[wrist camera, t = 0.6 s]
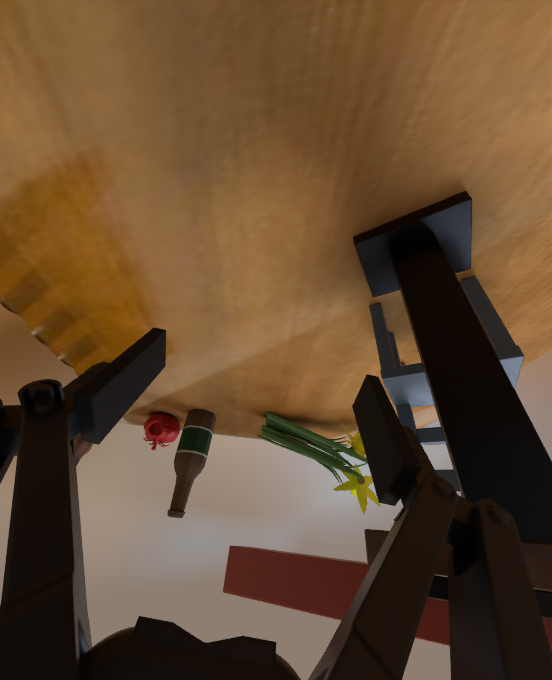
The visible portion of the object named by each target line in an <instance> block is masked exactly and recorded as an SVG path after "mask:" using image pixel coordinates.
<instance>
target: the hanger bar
mask: <svg viewBox="0 0 552 680" xmlns="http://www.w3.org/2000/svg"><path fill="white" fill-rule="evenodd" d="M369 569H370V566H368V563H365V562H357V561H350V560H343V559H335V558H328V557H320V556H313V555H305V554H298V553H290V552H283V551H276V550H268V549H261V548H253V547H243V546H230V549H229V555H228V562H227V568H226V575H225V581H224V588H223V592H224V593H228V594H232V595H237V596H240V597H245V598H249V599H254V600H257V601H262V602H266V603H270V604H274V605H278V606H282V607H287V608H291V609H295V610H299V611H303V612H307V613H311V614H316V615H320V616H324V617H328V618H332V619H337V620H341V621H342V619H343V617H344V616H345V614H346V612H347V610H348V608H349V606H350V604H351V603H352V601H353V599H354V597H355V595H356V593H357V591H358V589H359V588H360V586H361V584H362V582H363V580H364V578H365V576H366V575H367V573H368V571H369ZM542 620H543V623H544V627H545V630H546V634H547V637H548V641H549V645H550V648H551V652H552V619H547V618H542ZM415 638H416V639H420V640H424V641H428V642H432V643H437V644H441V645H445V646H449V647H450V629H449V601H444V600H438V599H432V598H427V601H426V604H425V607H424V610H423V614H422V617H421V620H420V623H419V626H418V629H417V633H416V636H415Z"/></svg>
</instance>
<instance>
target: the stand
mask: <svg viewBox="0 0 552 680" xmlns="http://www.w3.org/2000/svg"><path fill="white" fill-rule="evenodd" d="M471 230H472V198H471V197H470V196H469V194H468V193H467V192H466V191H464V192H462V193H460V194H457V195H455V196H452V197H450V198H447V199H445V200H443V201H440V202H438V203H435V204H433V205H430V206H428V207H425V208H423V209H421V210H418V211H416V212H413V213H411V214H408V215H406V216H404V217H401V218H399V219H396V220H394V221H391V222H389V223H386V224H384V225H382V226H379V227H377V228H374V229H372V230H369V231H367V232H365V233H362V234H360V235H357V236H355V237H353V239H354V245H355V248H356V251H357V254H358V256H359V259H360V262H361V265H362V268H363V270H364V273H365V276H366V279H367V282H368V284H369V287H370V290H371V293H372V296H373V298H374V297H377V296H381V295H384V294H387V293H391V292H394V291H398V290H400V291H401V294H402V297H403V301H404V304H405V307H406V311H407V314H408V318H409V321H410V324H411V328H412V331H413V334H414V338H415V341H416V344H417V348H418V351H419V354H420V358H421V361H422V365H423V368H424V371H425V375H426V378H427V381H428V385H429V388H430V391H431V395H432V398H433V401H434V405H435V408H436V412H437V415H438V418H439V422H440V425H441V428H442V432H443V435H444V438H445V442H446V445H447V448H448V452H449V455H450V458H451V462H452V465H453V469H454V472H455V475H456V479H457V482H458V485H459V489H460V492H461V495H462V497H463V498H465V499H467V500H469V501H471V502H473V503H475V504H476V503H477V502H478V501H479V500H480V499H482V498H484V499H489V500H492V501H494V502H495V503H497V504H498V505H500V506H501V507H503V508H504V509H505V510H506V511H507V512H508V513H509V514H510V516H511V517H512V518H513V520H514V522H515V524H516V526H517V530H518V534H519V537H520V541H521V544H522V548H523V551H524V555H525V559H526V562H527V566H528V569H529V573H530V577H531V580H532V584H533V587H534V591H535V594H536V598H537V602H538V605H539V609H540V612H541V616H542V618H547V619H552V461H551V459H550V457H549V455H548V453H547V451H546V449H545V447H544V446H543V444H542V442H541V440H540V438H539V436H538V434H537V432H536V430H535V428H534V426H533V424H532V422H531V420H530V418H529V416H528V415H527V413H526V411H525V409H524V407H523V405H522V403H521V401H520V399H519V397H518V395H517V393H516V391H515V389H514V387H513V385H512V383H511V381H510V380H509V378H508V376H507V374H506V372H505V370H504V368H503V366H502V364H501V362H500V360H499V358H498V356H497V354H496V352H495V350H494V349H493V347H492V345H491V343H490V341H489V339H488V337H487V335H486V333H485V331H484V329H483V327H482V325H481V323H480V321H479V319H478V317H477V316H476V314H475V312H474V310H473V308H472V306H471V304H470V302H469V300H468V298H467V296H466V294H465V292H464V290H463V288H462V286H461V284H460V283H459V281H458V279H457V277H456V275H455V273H458V272H461V271H465V270H468V269H471ZM389 532H390V531H384V530H371V529H365V541H366V551H367V562H368V566H370V567H371V565H372V563H373V562H374V560H375V558H376V556H377V554H378V552H379V550H380V548H381V547H382V545H383V543H384V541H385V539H386V537H387V535H388V534H389ZM428 598H432V599H438V600H444V601H449V597H448V565H447V543H445V544H444V547H443V550H442V553H441V557H440V560H439V563H438V566H437V569H436V572H435V576H434V579H433V582H432V585H431V588H430V591H429V595H428Z"/></svg>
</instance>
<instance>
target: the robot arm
mask: <svg viewBox="0 0 552 680" xmlns="http://www.w3.org/2000/svg"><path fill="white" fill-rule="evenodd" d="M165 361H166V330H163V329H159V328H153V329H152V330H150V331H149V332H148V333H147V334H145V335H144V336H143V337H142V338H140V339H139V340H138V341H137V342H136V343H134V344H133V345H132V346H131V347H129V348H128V349H127V350H126V351H125V352H123V353H122V354H121V355H120V356H118V357H117V358H116V359H115V360H114V361H112V362H111V363H108V362H101V363H98V364H96V365H93V366H92V367H90V368H89V369H88V370H86V371H85V373H82V374H81V375H80V376H78V378H76V379H75V380H73V381H72V382H71V383H69V384H68V385H67V386H65V387H64V388H62V385H61V383H60V382H59V381H57V380H51V379H45V380H38V381H34V382H31V383H29V384H27V385H25V386H23V387H22V388H21V389H20V390H19V392H18V397H19V400H20V403H21V405H10V406H4V405H3V403H2V401H1V399H0V483H1V481H2V479H3V477H4V475H5V473H6V471H7V469H8V467H9V465H10V463H11V461H12V459H13V457H14V456H17V455H18V456H17V465H16V475H15V483H14V493H13V501H12V510H11V519H10V528H9V537H8V546H7V555H6V564H5V573H4V582H3V591H2V600H1V605H0V680H301V679H300V678H299V677H298V675H297V673H296V672H295V671H294V669H293V668H292V667H291V666H290V665H289V664H288V663H287V662H286V661H285V660H284V659H283V658H282V657H281V656H279V655H278V654H276V642H273V641H267V640H262V639H256V638H251V637H246V636H240V637H235V638H230V639H225V640H220V641H215V642H210V643H205V642H202V641H201V640H199V639H197V638H196V637H195V636H193V635H191V634H190V633H188V632H187V631H185V630H184V629H182V628H181V627H179V626H177V625H176V624H175V623H173V622H168V621H162V620H157V619H152V618H147V617H141V616H139V618H138V620H137V623H136V625H135V627H130V628H126V629H124V630H121V631H118V632H116V633H114V634H112V635H110V636H108V637H107V638H105V639H103V640H102V641H100V642H99V643H97V644H96V645H95V646H93V647H92V643H91V633H90V625H89V619H88V612H87V602H86V589H85V576H84V564H83V550H82V538H81V525H80V513H79V499H78V486H77V474H76V461H75V448H74V440H73V439H74V438H75V437H76V436H77V435H78V434H79V433H80V434H81V439H82V441H84V442H89V443H93V444H100V442H101V441H102V440H103V439H104V438H105V437H106V435H107V434H108V433H109V432H110V431H111V430H112V428H113V427H114V426H115V425H116V424H117V422H118V421H119V420H120V419H121V418H122V417H123V415H124V414H125V413H126V412H127V411H128V410H129V408H130V407H131V406H132V405H133V404H134V402H135V401H136V400H137V399H138V398H139V397H140V395H141V394H142V393H143V392H144V391H145V389H146V388H147V387H148V386H149V385H150V384H151V382H152V381H153V380H154V379H155V378H156V377H157V375H158V374H159V373H160V372H161V371H162V369H163V368H164V367H165ZM352 407H353V411H354V414H355V418H356V421H357V425H358V429H359V432H360V436H361V439H362V443H363V447H364V450H365V454H366V457H367V461H368V465H369V468H370V472H371V475H372V479H373V483H374V486H375V490H376V493H377V497H378V501H379V503H383V504H388V505H393V506H395V505H396V504H397V502H398V501H399V499H400V498H401V501H402V503H403V506H404V507H403V508H402V510H401V511H400V512H399V514H398V515H397V517H396V518H395V519H394V521H395V522H394V524H393V526H392V528H391V530H390V532H389V534H388V535H387V537H386V539H385V541H384V543H383V545H382V547H381V548H380V550H379V552H378V554H377V556H376V558H375V560H374V562H373V563H372V565H371V567H370V569H369V571H368V573H367V575H366V576H365V578H364V580H363V582H362V584H361V586H360V588H359V589H358V591H357V593H356V595H355V597H354V599H353V601H352V603H351V604H350V606H349V608H348V610H347V612H346V614H345V616H344V617H343V619H342V621H341V623H340V625H339V627H338V629H337V630H336V632H335V634H334V636H333V638H332V640H331V642H330V644H329V645H328V647H327V649H326V651H325V653H324V655H323V656H322V658H321V660H320V661H319V663H318V664H317V666H316V667H315V669H314V671H313V672H312V674H311V675H310V677H309V679H308V680H402V677H403V674H404V671H405V667H406V664H407V661H408V658H409V655H410V652H411V648H412V645H413V642H414V639H415V636H416V633H417V629H418V626H419V623H420V620H421V617H422V614H423V610H424V607H425V604H426V601H427V598H428V595H429V591H430V588H431V585H432V582H433V579H434V576H435V572H436V569H437V566H438V563H439V560H440V557H441V553H442V550H443V547H444V544H445V543H447V565H448V597H449V629H450V659H451V680H552V652H551V648H550V645H549V641H548V637H547V634H546V630H545V627H544V623H543V620H542V616H541V612H540V609H539V605H538V602H537V598H536V594H535V591H534V587H533V584H532V580H531V577H530V573H529V569H528V566H527V562H526V559H525V555H524V551H523V548H522V544H521V541H520V537H519V534H518V530H517V526H516V524H515V522H514V520H513V518H512V517H511V516H510V514H509V513H508V512H507V511H506V510H505V509H504V508H503V507H501V506H500V505H498V504H497V503H495V502H494V501H492V500H489V499H484V498H482V499H480V500H479V501H478V502H477V503H476V504H475V503H473V502H471V501H469V500H467V499H465V498H463V497H461V496H459V495H457V492H456V490H455V489H454V488H453V486H452V485H451V484H450V483H449V482H447V481H446V480H445V479H443V478H442V477H440V476H438V475H437V473H436V471H435V470H434V468H433V466H432V464H431V462H430V460H429V458H428V456H427V454H426V453H425V452H424V449H423V447H422V445H421V444H420V441H419V439H418V437H417V435H416V434H415V433H414V432H413V431H412V430H411V429H410V428H409V427H407V426H403V425H401V423H400V421H399V419H398V417H397V415H396V413H395V411H394V409H393V406H392V404H391V402H390V400H389V398H388V396H387V394H386V392H385V390H384V388H383V386H382V384H381V382H380V380H379V377H377V376H372V375H366V377H365V379H364V382H363V384H362V386H361V388H360V391H359V393H358V395H357V397H356V399H355V402H354V404H353V406H352Z"/></svg>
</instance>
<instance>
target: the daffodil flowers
mask: <svg viewBox="0 0 552 680" xmlns="http://www.w3.org/2000/svg"><path fill="white" fill-rule="evenodd" d="M266 417H267V419H266V424H267V425H266V426H265V425H262V428H261V430H262V431H263V433H262V435H263V436H265V437H267V438H270V439H272V440H274V441H276V442H279V443H281V444H283V445H285V446H283V445H281V444H278V443H276V442H274V441H271V440H269V439H266V438H264V437H262V436H259V435H258V437H259V438H261V439H264V440H266V441H269V442H271V443H273V444H276V445H278V446H281V447H283V448H286V449H289V450H291V451H294V452H297V453H299V454H302V455H305V456H307V457H310V458H312V459H314V460H316V461H317V462H319V463H320V464H322V465H323V466H325V467H326V468H327V469H329V470H330V471H331V472H332V473H333V474H334V476H335V477H336V479H337V480H338V478H337V476H338V477H339V475H338V474H337V472H336V471H335V470H334V469H333V468H332V467H334V468H336V469H339V470H341V471H342V472H343V474H344V475H345V476H346V477H347V478H348V479H349V480H350V481H347V482H345V483H343V482H342V480H341V479H340V477H339V479H340V481H341V482H342V483H343V484H341V485H339V486H338V487H336V488H334V489H333V490H335V491H339V490H351V493H352V494H353V495H354V496H355V497H356V496H357V497H358V500H359V503H360V506H361V509H362V511H363V514H364V513H365V510H366V506H367V496H368V497H369V498H370V499H371V500H373V501H374V502H375V503H376V504H377V505H379V506H380V504H379V501H378V499H377V497H376V496H375V494H374V493H373V492H372V491H371V490H370V489H369V488H368V486H369V485H370V484H371V483H372V482H373V479H372V477H371V476H362V474H361V472H360V470H359V468H358V467H359V466H362V465H365V464H361V465H356V464H355V466H352V465H351V464H350V463H349V462H348V461H347V460H346V459H344V458H343V457H342V456H341V455H340V454H339V453H338V452H344V453H346V454H348V455H350V456H353V457H355V458H357V459H360V460H362V461H364V462H366V464H368V461H367V458H365V455H366V454H365V450H364V447H363V443H362V439H361V436H359V432H357V433H356V434H355V435H354V437H353V438H352V436H351V435H350V434H349V433H348V432H347V430H346V429H345V430H346V432H347V434H348V436H349V437H350V439H351V441H352V443H351V442H350V441H348V440H345V439H344V440H345V441H342V442H334V440H339V439H342V438H338V439H327V438H325V437H323V436H321V435H318V434H316V433H314V432H312V431H309V430H307V429H305V428H303V427H301V426H298V425H296V424H294V423H292V422H290V421H287V420H285V419H283V418H281V417H278V416H276V415H274V414H272V413H269V412H268V413H267V415H266ZM341 423H342V422H341ZM342 425H343V424H342ZM343 427H344V426H343ZM282 432H283V433H282ZM284 433H285V434H284ZM286 434H288V435H290V436H288V435H286ZM291 436H293V437H295V438H297V439H299V440H302V441H304V442H306V443H308V444H310V445H312V446H314V447H317V448H319V449H321V450H323V451H325V452H327V453H329V454H331V455H332V456H331V455H329V454H327V453H325V452H322V451H320V450H318V449H316V448H313V447H311V446H309V445H307V444H305V443H303V442H301V441H299V440H297V439H295V438H293V437H291ZM343 438H345V437H343ZM346 441H347V442H348V443H349V444H351V445H352V447H351V448H347V447H345V446H348V445H345V444H339V443H343V442H346ZM286 446H287V447H286ZM289 447H290V448H289ZM332 447H333V448H335V449H337V450H335V449H333V448H332ZM364 454H365V455H364ZM333 456H334V457H333ZM335 457H336V458H335ZM337 458H338V459H337ZM339 459H340V460H341V461H340V460H339ZM342 461H343V462H345V463H346V464H348V465H350V466H344V465H346V464H345V463H343V462H342ZM326 464H327V465H326ZM331 466H332V467H331ZM350 468H354V470H353V469H350ZM334 472H335V473H336V475H337V476H336V475H335V473H334ZM338 482H339V481H338Z"/></svg>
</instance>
